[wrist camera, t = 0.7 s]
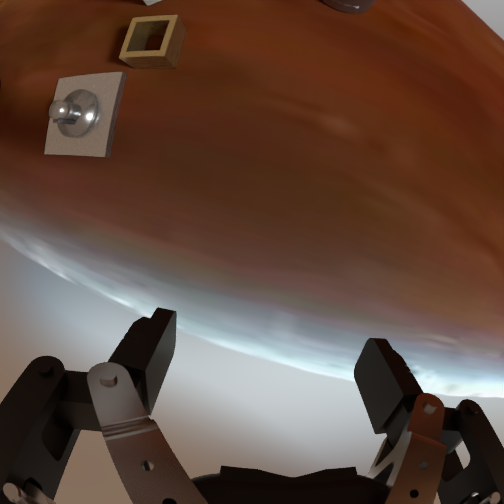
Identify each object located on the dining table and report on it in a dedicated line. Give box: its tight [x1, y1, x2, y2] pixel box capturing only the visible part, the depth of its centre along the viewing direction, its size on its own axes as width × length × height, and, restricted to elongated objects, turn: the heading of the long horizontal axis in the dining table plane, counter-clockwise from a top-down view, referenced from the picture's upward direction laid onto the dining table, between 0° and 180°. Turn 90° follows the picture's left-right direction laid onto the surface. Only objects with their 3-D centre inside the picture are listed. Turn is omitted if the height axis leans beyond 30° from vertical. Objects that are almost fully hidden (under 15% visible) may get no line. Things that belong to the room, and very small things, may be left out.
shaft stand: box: [44, 72, 127, 157], centre depth 27 cm, size 12×12×7 cm
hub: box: [119, 15, 187, 69], centre depth 26 cm, size 6×6×5 cm
